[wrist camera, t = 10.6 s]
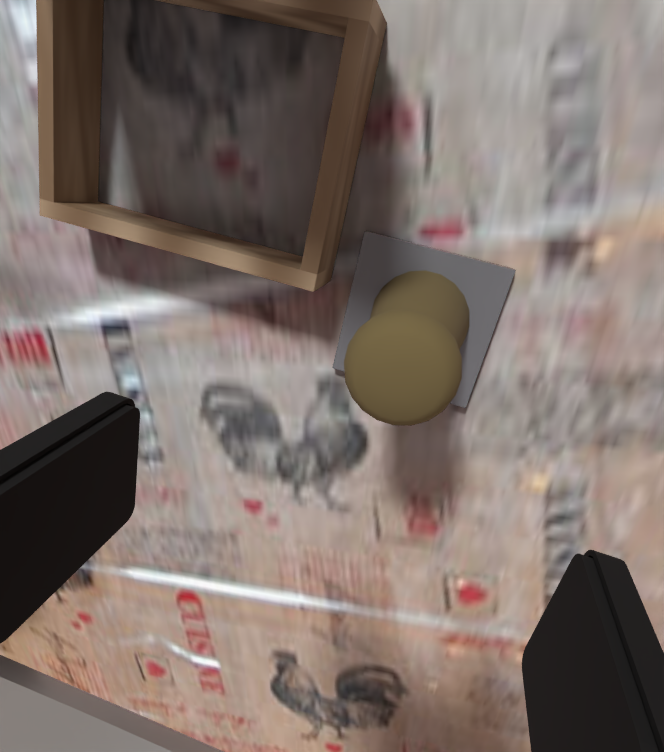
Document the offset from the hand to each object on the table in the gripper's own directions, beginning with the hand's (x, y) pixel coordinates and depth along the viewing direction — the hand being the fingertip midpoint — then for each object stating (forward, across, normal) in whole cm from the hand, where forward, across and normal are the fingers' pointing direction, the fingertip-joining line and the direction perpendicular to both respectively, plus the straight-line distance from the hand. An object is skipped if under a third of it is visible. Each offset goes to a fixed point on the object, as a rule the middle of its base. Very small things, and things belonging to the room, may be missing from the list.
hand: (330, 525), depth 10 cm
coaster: (+22, 0, +1) cm, 22 cm away
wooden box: (+22, +15, -7) cm, 28 cm away
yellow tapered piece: (+22, 0, +1) cm, 22 cm away
